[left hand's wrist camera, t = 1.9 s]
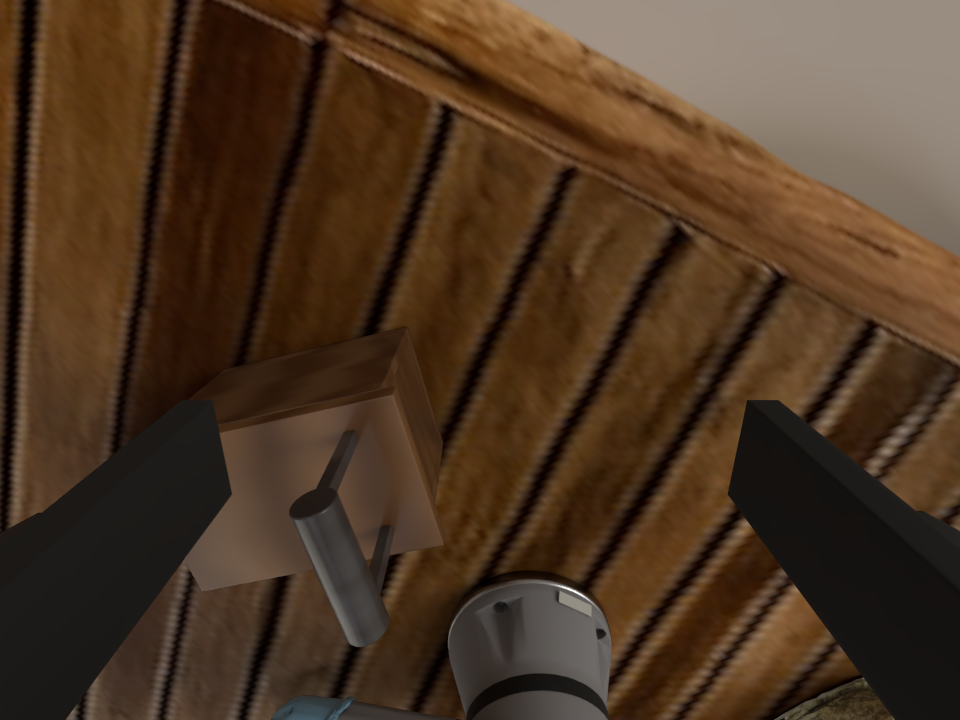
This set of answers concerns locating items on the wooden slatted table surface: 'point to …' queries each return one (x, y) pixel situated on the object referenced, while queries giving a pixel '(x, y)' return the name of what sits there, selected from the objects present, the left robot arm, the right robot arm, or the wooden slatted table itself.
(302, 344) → the wooden slatted table surface
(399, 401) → the lid
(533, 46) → the wooden slatted table surface
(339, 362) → the chest
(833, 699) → the fossil
